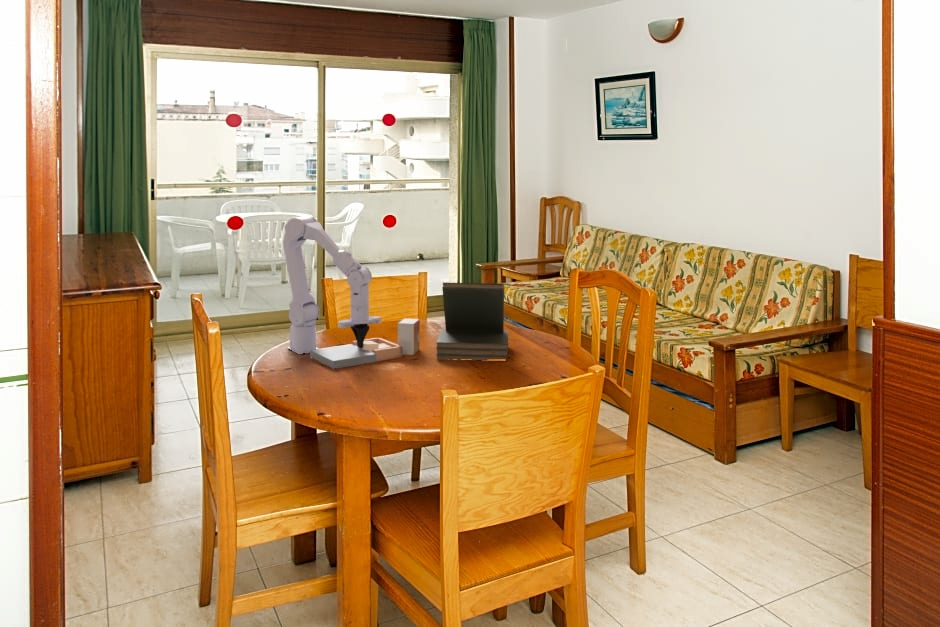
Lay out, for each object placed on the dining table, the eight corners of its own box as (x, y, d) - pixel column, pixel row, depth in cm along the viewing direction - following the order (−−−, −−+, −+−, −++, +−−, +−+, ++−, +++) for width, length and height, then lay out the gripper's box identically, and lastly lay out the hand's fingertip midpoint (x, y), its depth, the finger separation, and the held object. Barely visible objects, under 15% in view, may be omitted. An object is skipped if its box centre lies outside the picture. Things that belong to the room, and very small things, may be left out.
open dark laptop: (508, 348, 272) (510, 275, 267) (507, 363, 253) (509, 285, 248) (441, 346, 273) (442, 274, 268) (435, 361, 254) (436, 283, 249)
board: (310, 357, 254) (310, 350, 254) (351, 351, 263) (351, 343, 263) (333, 368, 242) (333, 361, 241) (376, 361, 251) (376, 354, 250)
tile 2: (371, 351, 261) (371, 345, 261) (384, 348, 264) (384, 343, 263) (378, 354, 257) (378, 348, 257) (392, 352, 260) (392, 346, 259)
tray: (352, 351, 263) (352, 341, 262) (378, 347, 269) (378, 337, 268) (375, 361, 251) (375, 350, 250) (402, 356, 257) (402, 346, 256)
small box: (413, 355, 259) (413, 323, 257) (397, 354, 260) (397, 323, 258) (419, 349, 267) (420, 318, 265) (403, 348, 268) (403, 318, 266)
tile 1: (357, 347, 258) (357, 341, 258) (370, 346, 261) (371, 340, 260) (364, 350, 254) (365, 344, 254) (378, 350, 257) (378, 343, 257)
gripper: (345, 310, 245) (346, 352, 248) (386, 305, 254) (386, 346, 257) (334, 306, 251) (335, 348, 254) (374, 302, 259) (375, 342, 262)
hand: (360, 347), depth 256 cm, fingers closed, pressing on tile 1
